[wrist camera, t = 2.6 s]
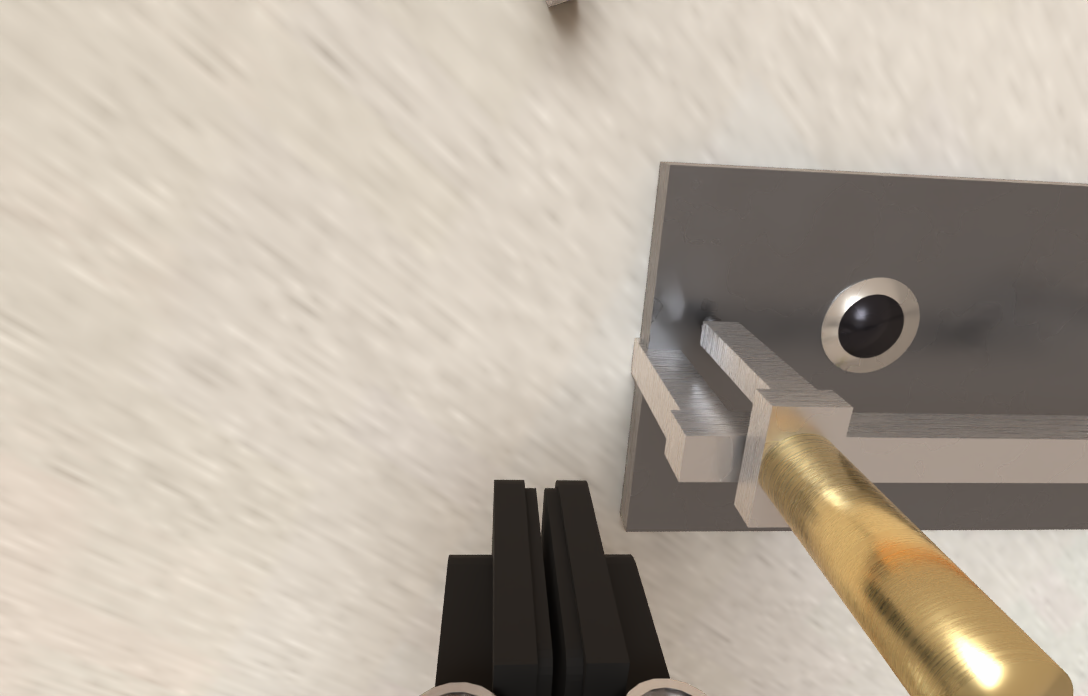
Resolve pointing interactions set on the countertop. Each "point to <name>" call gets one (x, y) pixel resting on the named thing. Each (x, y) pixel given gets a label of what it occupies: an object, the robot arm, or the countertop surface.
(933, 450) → the divider frame
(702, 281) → the hole plate
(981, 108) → the countertop surface
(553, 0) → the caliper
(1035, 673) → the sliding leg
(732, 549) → the countertop surface
